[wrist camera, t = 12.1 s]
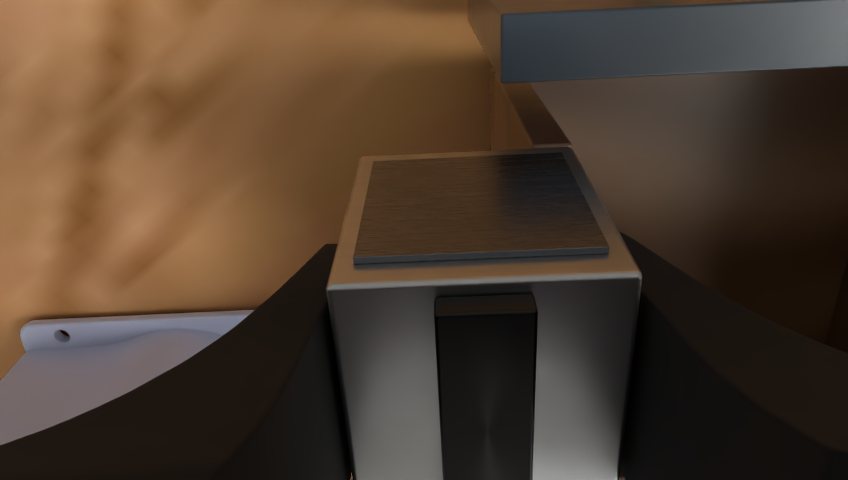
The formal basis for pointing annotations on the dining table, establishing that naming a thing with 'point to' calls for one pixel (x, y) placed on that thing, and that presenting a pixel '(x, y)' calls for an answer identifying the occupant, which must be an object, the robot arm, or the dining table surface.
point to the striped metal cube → (482, 319)
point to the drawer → (696, 134)
